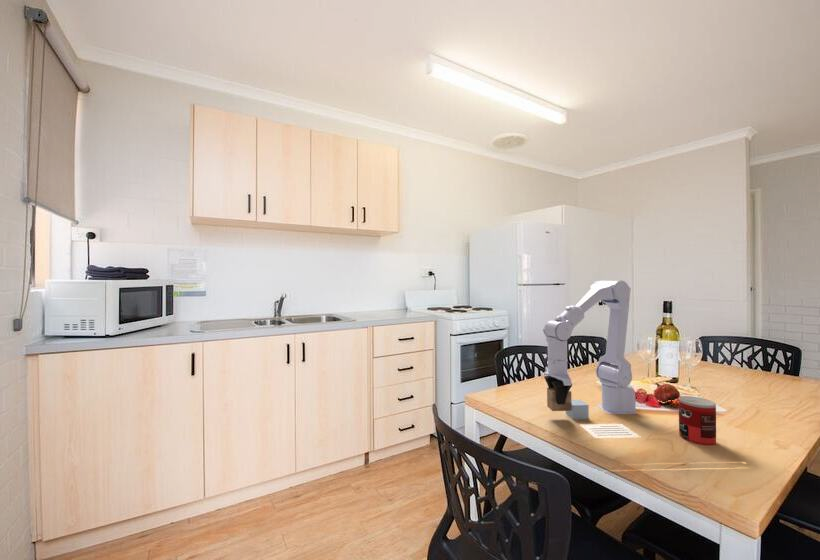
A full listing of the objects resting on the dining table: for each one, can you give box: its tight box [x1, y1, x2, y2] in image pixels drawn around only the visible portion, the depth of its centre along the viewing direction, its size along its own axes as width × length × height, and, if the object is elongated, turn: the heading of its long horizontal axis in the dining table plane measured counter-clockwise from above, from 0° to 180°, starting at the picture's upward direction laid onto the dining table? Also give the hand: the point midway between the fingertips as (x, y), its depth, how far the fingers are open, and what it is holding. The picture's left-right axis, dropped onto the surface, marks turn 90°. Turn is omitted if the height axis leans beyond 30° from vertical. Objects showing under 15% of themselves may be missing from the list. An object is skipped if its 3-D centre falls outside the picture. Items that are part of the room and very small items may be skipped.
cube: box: [565, 399, 590, 420], centre depth 113 cm, size 5×5×5 cm
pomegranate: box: [653, 382, 681, 403], centre depth 124 cm, size 7×7×10 cm
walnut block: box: [546, 387, 572, 412], centre depth 111 cm, size 6×4×6 cm, turn 91°
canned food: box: [678, 395, 717, 446], centre depth 97 cm, size 8×8×11 cm
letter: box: [579, 423, 641, 439], centre depth 103 cm, size 13×9×1 cm
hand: (557, 401), depth 111 cm, fingers closed on walnut block, 4 cm apart
